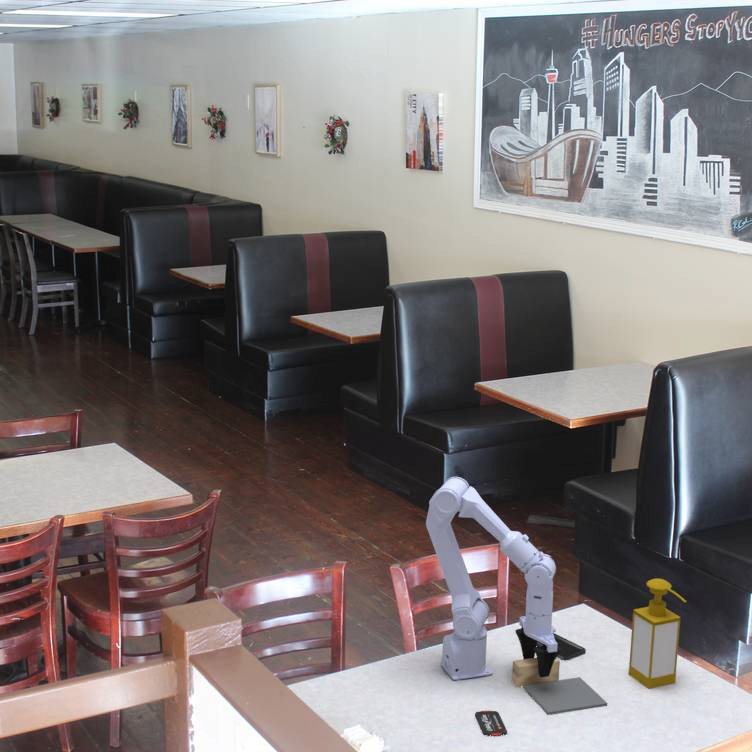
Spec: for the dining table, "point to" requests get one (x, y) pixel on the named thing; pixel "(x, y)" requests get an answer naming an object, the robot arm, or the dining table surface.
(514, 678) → the oak domino
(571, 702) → the rubber mat
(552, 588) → the robot arm
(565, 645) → the phone
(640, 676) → the soap bottle
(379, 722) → the dining table surface
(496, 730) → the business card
